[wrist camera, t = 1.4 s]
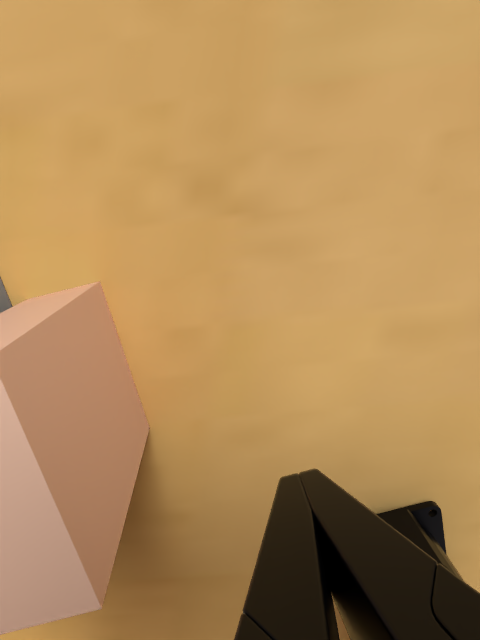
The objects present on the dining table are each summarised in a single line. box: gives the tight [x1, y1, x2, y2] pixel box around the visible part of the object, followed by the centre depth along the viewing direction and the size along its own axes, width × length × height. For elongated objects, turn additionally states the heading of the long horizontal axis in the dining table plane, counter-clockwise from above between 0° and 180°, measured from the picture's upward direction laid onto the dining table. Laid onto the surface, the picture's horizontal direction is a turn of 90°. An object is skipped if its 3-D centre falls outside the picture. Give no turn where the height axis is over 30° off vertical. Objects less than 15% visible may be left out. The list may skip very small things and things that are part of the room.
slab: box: [0, 281, 150, 635], centre depth 15 cm, size 8×4×10 cm, turn 13°
